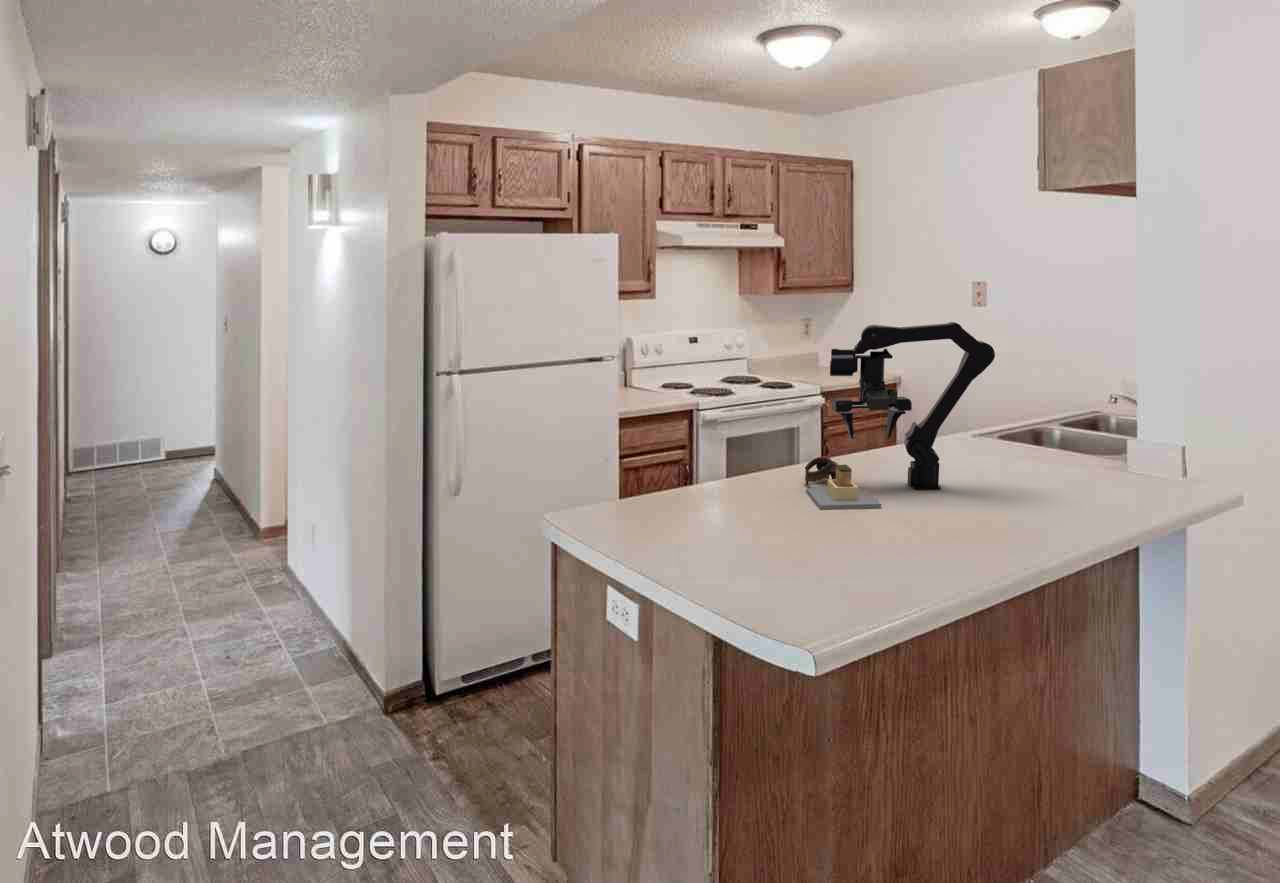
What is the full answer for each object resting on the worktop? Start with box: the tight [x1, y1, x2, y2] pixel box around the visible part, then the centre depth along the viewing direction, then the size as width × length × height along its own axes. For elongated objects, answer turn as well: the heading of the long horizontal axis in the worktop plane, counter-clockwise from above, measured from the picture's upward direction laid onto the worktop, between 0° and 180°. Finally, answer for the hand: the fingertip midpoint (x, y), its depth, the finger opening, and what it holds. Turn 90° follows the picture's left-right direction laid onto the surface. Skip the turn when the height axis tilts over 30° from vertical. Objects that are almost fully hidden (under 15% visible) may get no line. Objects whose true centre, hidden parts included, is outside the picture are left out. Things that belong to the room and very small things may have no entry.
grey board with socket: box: [805, 479, 882, 510], centre depth 205 cm, size 14×16×4 cm
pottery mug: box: [804, 456, 839, 486], centre depth 221 cm, size 12×10×8 cm
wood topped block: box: [835, 464, 853, 487], centre depth 205 cm, size 2×5×7 cm, turn 0°
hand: (870, 438), depth 217 cm, fingers open, 9 cm apart
